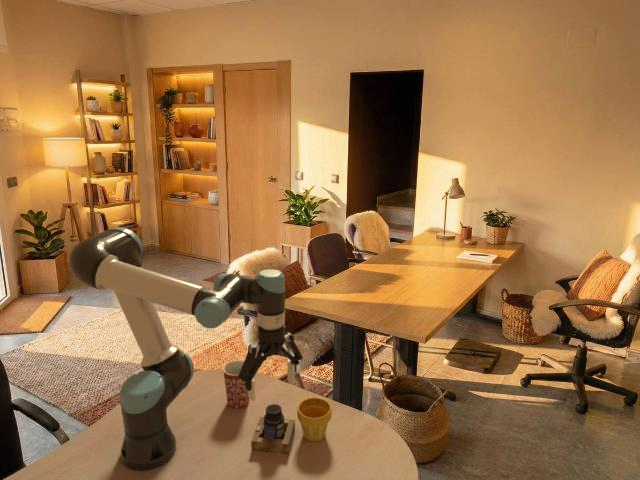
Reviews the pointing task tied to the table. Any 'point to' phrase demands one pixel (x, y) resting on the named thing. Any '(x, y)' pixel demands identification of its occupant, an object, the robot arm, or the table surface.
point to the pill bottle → (274, 422)
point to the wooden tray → (273, 444)
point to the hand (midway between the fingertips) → (271, 390)
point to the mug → (235, 385)
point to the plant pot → (314, 417)
